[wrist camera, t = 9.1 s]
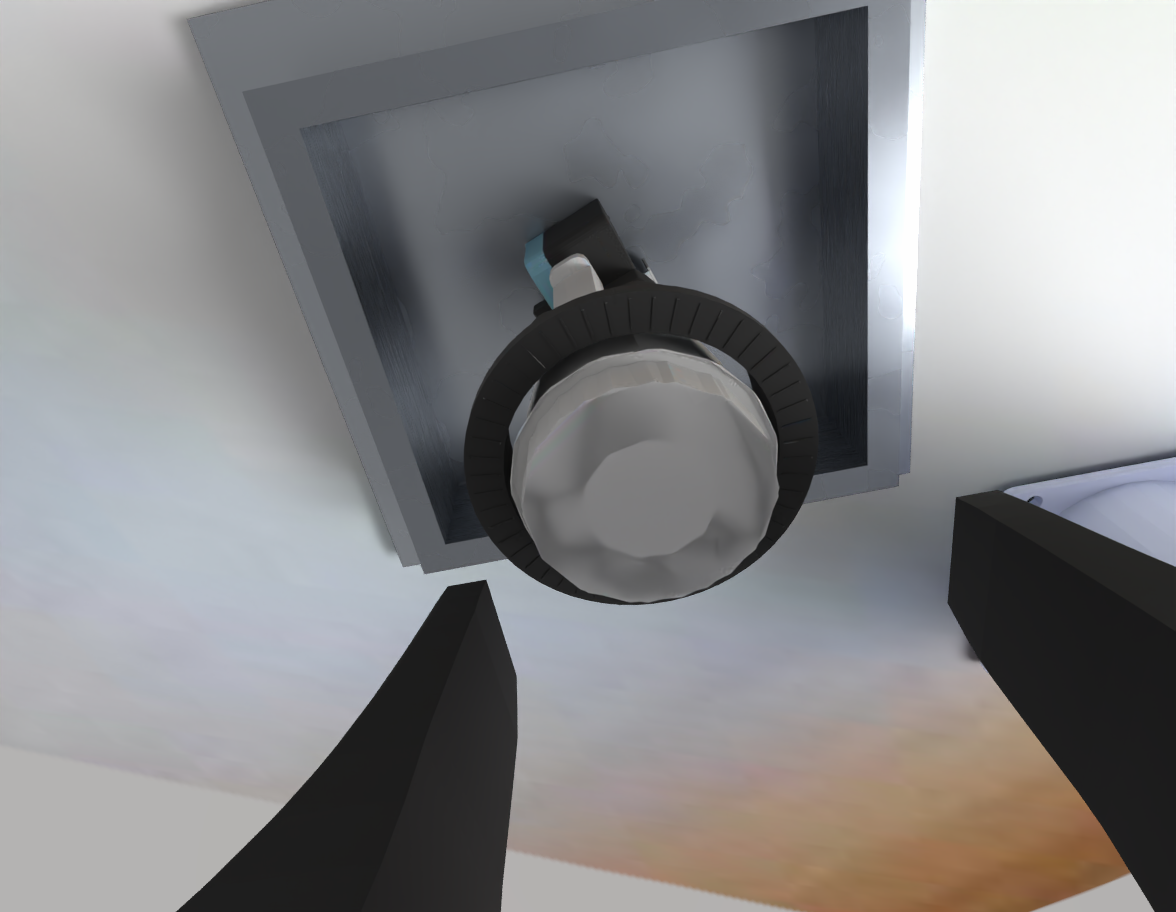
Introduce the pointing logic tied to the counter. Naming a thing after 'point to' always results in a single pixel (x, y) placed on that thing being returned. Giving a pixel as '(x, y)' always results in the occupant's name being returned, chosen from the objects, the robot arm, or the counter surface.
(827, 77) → the grey metal tray
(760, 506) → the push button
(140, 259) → the counter surface
